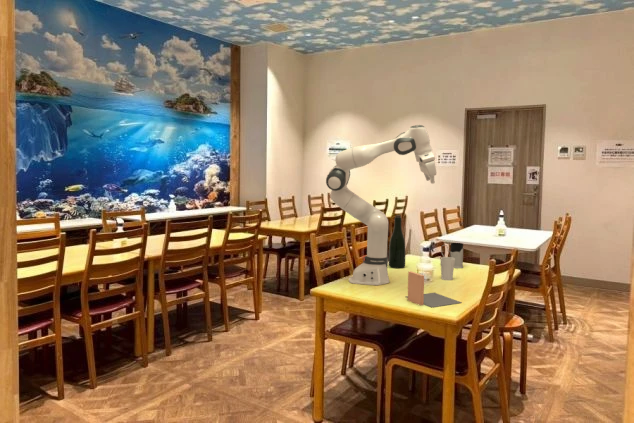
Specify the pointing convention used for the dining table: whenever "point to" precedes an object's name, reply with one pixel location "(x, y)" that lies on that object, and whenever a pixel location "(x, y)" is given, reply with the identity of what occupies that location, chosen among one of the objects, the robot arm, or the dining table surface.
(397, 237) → the dark green bottle
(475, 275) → the dining table surface
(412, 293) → the tile
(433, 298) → the mat
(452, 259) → the cup
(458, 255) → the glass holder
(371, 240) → the robot arm
